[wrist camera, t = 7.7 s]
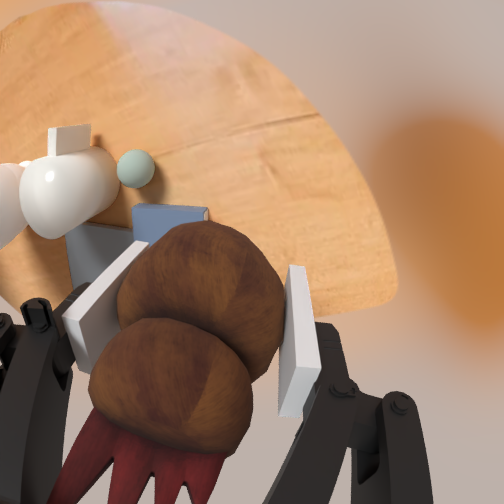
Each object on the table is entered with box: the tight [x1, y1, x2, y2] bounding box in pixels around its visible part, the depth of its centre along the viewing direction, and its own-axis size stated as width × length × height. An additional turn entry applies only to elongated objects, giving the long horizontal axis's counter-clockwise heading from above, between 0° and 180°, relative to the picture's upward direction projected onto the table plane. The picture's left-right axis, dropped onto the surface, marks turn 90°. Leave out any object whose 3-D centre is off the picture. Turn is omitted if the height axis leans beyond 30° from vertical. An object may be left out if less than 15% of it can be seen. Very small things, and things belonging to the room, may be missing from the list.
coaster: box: [65, 222, 134, 290], centre depth 34 cm, size 11×11×1 cm
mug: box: [19, 124, 120, 239], centre depth 26 cm, size 8×11×9 cm
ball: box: [117, 149, 155, 188], centre depth 27 cm, size 4×4×4 cm
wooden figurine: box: [46, 220, 285, 504], centre depth 9 cm, size 7×6×15 cm
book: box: [132, 203, 208, 248], centre depth 32 cm, size 8×10×2 cm
